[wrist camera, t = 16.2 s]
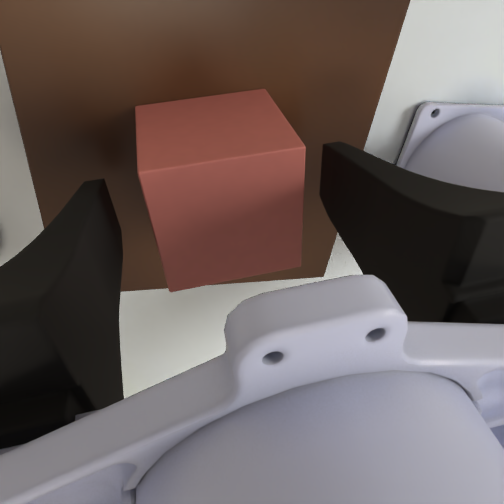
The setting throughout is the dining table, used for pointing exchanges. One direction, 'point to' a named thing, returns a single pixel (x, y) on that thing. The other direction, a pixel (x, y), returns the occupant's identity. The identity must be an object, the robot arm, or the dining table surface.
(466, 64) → the dining table surface
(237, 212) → the block
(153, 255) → the cabinet
